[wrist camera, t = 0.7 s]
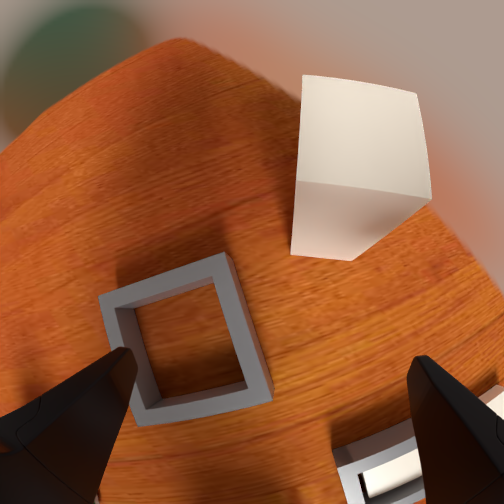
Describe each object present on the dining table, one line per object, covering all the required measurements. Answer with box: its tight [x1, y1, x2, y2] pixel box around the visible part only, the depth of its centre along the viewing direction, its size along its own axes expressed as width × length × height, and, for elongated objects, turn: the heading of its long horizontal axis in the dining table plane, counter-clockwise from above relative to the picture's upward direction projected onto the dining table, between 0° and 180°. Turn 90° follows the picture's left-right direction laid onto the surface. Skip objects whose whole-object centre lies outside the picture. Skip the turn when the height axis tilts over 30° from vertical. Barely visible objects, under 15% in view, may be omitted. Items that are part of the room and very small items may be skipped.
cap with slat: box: [332, 385, 504, 504], centre depth 16 cm, size 7×16×3 cm, turn 108°
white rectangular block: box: [290, 75, 432, 261], centre depth 15 cm, size 4×4×13 cm
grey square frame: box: [98, 252, 275, 427], centre depth 20 cm, size 10×10×3 cm
